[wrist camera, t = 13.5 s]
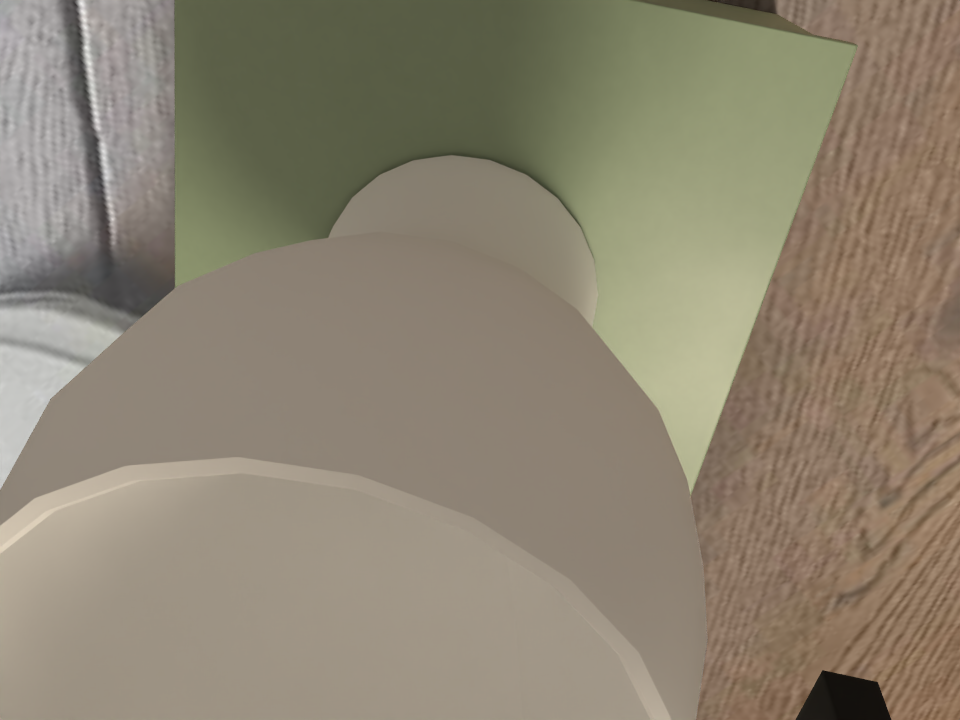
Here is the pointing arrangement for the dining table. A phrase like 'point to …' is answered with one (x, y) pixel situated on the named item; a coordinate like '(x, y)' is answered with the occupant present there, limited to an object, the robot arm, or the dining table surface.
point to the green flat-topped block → (525, 147)
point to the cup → (360, 488)
